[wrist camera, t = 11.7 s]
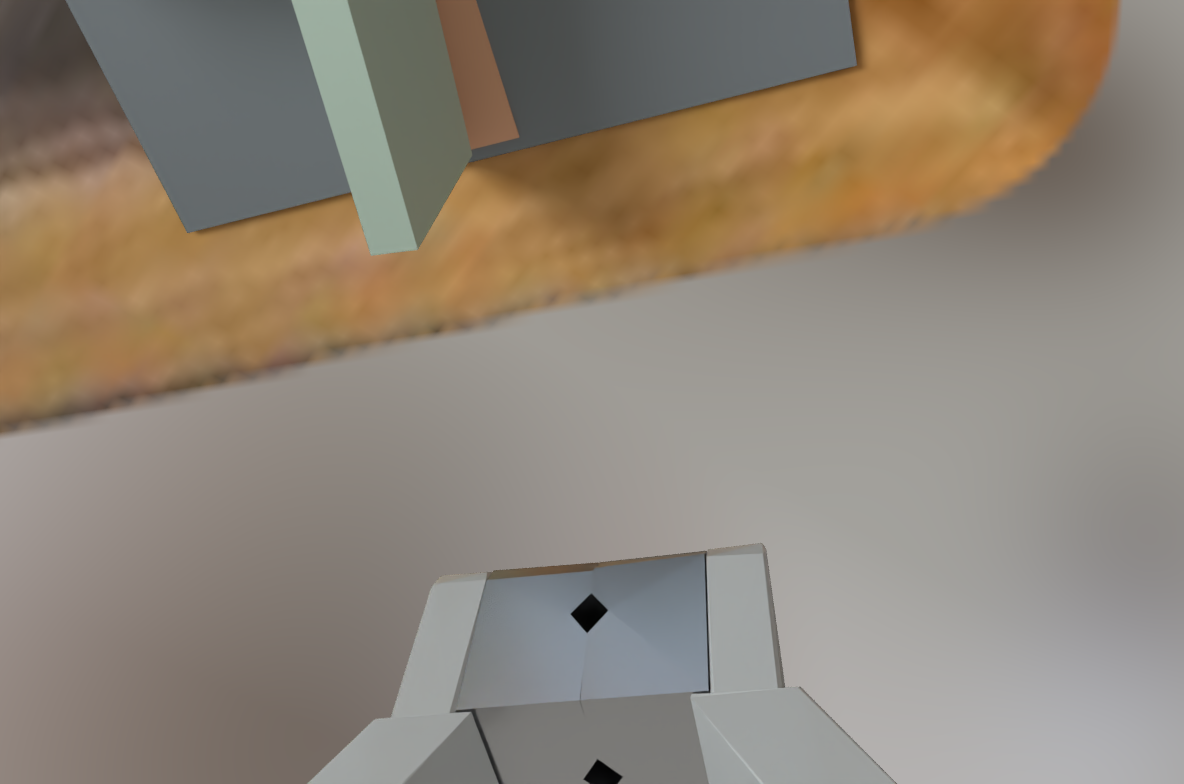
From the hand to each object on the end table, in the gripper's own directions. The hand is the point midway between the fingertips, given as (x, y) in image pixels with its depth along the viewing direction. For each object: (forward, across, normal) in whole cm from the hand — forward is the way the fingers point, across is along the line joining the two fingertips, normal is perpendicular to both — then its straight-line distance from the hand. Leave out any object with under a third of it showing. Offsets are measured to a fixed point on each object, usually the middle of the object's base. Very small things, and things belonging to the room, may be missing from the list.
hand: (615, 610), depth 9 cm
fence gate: (+22, +6, -3) cm, 23 cm away
